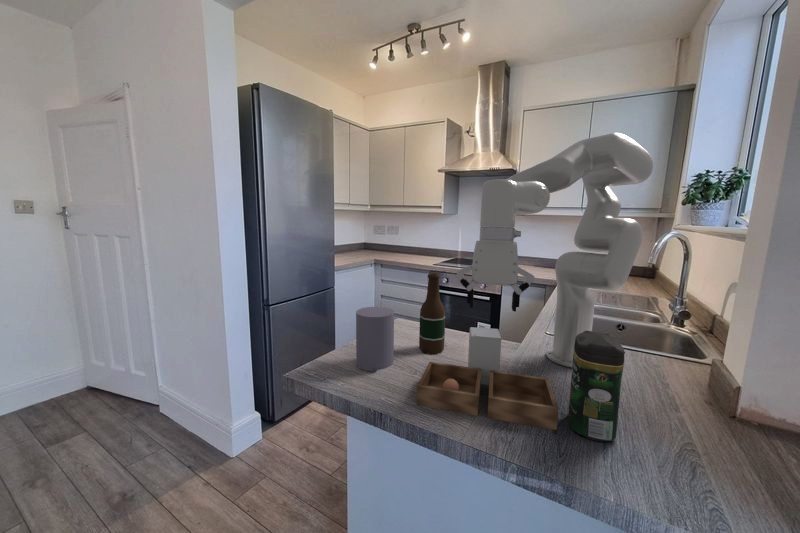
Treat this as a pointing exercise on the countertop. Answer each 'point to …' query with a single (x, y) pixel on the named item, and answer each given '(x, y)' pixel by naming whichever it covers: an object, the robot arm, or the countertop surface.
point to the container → (374, 338)
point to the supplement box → (484, 351)
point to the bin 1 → (446, 399)
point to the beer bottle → (432, 319)
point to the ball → (451, 384)
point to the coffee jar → (596, 385)
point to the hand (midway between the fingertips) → (492, 308)
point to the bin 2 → (522, 400)
